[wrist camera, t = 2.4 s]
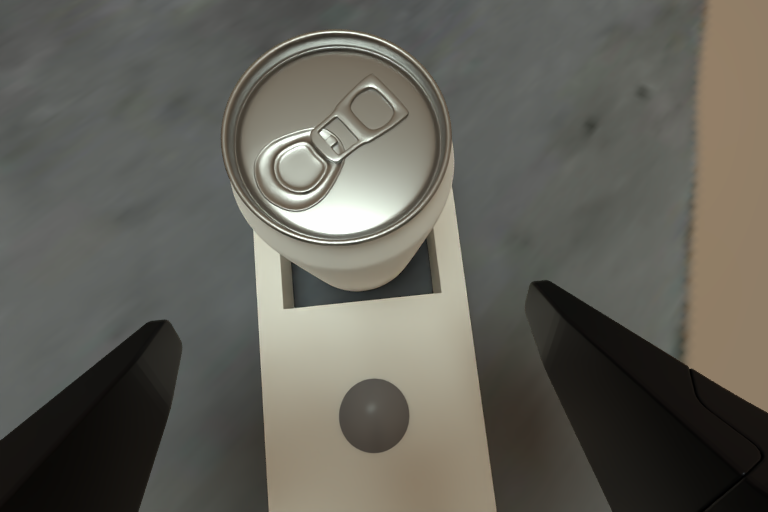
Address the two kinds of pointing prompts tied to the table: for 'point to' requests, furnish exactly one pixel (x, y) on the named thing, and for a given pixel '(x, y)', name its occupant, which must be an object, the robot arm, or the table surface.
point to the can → (339, 154)
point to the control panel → (373, 394)
